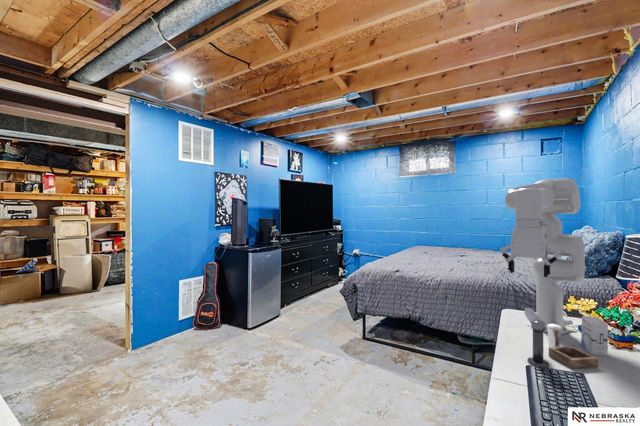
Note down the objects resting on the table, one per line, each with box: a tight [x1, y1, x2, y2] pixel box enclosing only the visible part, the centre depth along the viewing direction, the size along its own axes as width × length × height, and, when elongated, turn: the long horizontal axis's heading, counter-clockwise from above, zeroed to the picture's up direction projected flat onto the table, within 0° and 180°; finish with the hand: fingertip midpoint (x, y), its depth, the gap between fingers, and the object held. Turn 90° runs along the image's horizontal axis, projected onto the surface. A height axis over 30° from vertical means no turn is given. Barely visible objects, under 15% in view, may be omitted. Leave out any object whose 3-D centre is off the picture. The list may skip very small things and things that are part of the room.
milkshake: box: [547, 323, 564, 348], centre depth 117 cm, size 4×5×10 cm
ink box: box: [580, 315, 609, 357], centre depth 115 cm, size 9×5×12 cm, turn 160°
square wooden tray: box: [548, 345, 599, 370], centre depth 106 cm, size 9×9×3 cm
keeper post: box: [527, 329, 550, 369], centre depth 105 cm, size 6×6×12 cm
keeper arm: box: [524, 307, 545, 332], centre depth 111 cm, size 18×4×2 cm, turn 155°
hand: (528, 274), depth 104 cm, fingers open, 9 cm apart
